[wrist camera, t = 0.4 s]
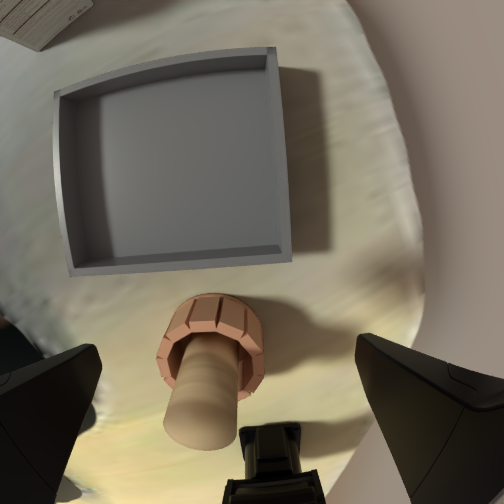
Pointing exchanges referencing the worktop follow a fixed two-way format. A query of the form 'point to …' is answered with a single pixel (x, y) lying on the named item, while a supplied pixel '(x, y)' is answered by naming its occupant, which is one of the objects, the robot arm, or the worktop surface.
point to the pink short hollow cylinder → (222, 321)
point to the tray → (174, 165)
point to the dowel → (205, 393)
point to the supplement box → (38, 19)
